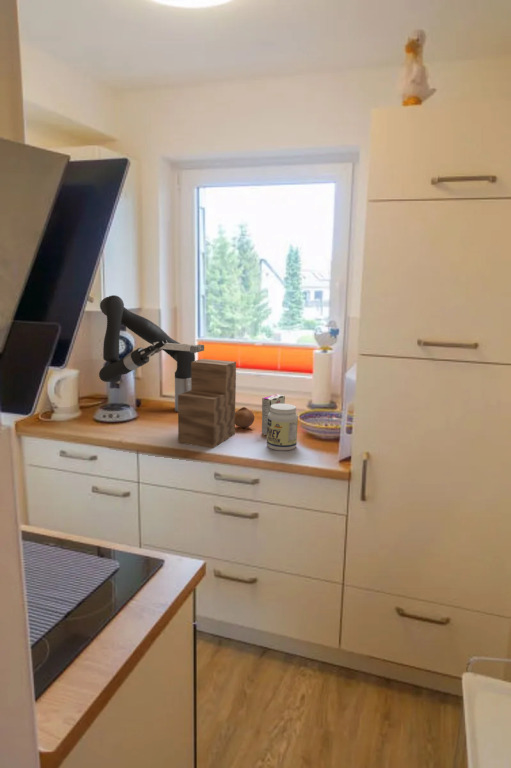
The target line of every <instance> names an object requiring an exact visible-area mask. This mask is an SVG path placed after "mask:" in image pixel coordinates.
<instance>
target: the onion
mask: <svg viewBox="0 0 511 768" xmlns="http://www.w3.org/2000/svg"><path fill="white" fill-rule="evenodd" d="M254 422H255V415H254V412H253V411H251V410H250V409H249V408H247V407H244V406H243V407H240V408H239V409H238V410H237V411H236V410H235V427H238V428H241V429H247V428H250V426H252V425H253V423H254Z"/></svg>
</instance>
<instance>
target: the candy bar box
mask: <svg viewBox="0 0 511 768" xmlns="http://www.w3.org/2000/svg"><path fill="white" fill-rule="evenodd" d="M285 397H286V395H284V394H280V393H276V394H275V393H274V394H273V395H269V396H266V397H263V398H261V400H262V401H261V434H262V435H264V436H267V424H268V414H269V412H270V406H271V405H273V404H286V403H285V402H286V401H285V399H286V398H285Z"/></svg>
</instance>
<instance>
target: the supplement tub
mask: <svg viewBox="0 0 511 768" xmlns="http://www.w3.org/2000/svg"><path fill="white" fill-rule="evenodd" d="M298 421H299V415H298V413H297V406H296V405H294V404H291V403H285V404H273V405H271V406H270V412H269V414H268V424H267V435H266V445H267V447H268V448H269V449H272V450H274V451H275V450H276V451H285V452H286V451H292V450H294V449H295V448H296V447H297V443H298V441H297V440H298V427H299V426H298Z"/></svg>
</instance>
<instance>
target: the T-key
mask: <svg viewBox="0 0 511 768" xmlns="http://www.w3.org/2000/svg"><path fill="white" fill-rule="evenodd" d="M157 343H159V342H154V344H155V345H156V344H157ZM159 349H169V350H180V351H190V352H191V353H194V354H196V353H199V352H200V353H201V352H204V351H205V344H188V343H186V344H185V343H180V344H176V343H164V346H162V347H160V348H159Z"/></svg>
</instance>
